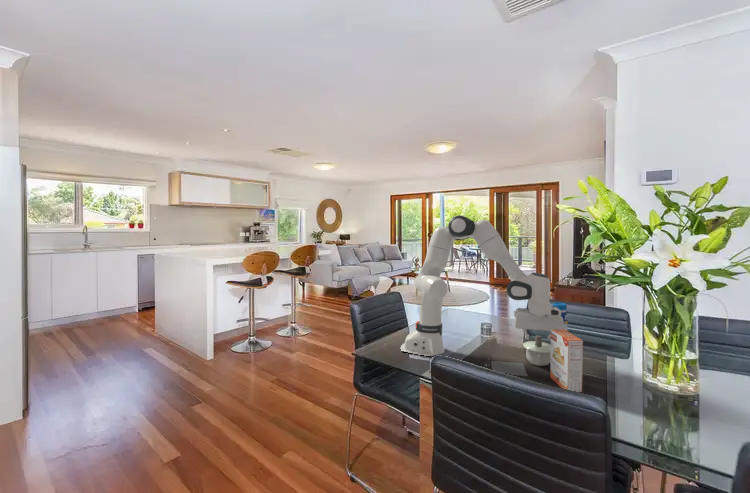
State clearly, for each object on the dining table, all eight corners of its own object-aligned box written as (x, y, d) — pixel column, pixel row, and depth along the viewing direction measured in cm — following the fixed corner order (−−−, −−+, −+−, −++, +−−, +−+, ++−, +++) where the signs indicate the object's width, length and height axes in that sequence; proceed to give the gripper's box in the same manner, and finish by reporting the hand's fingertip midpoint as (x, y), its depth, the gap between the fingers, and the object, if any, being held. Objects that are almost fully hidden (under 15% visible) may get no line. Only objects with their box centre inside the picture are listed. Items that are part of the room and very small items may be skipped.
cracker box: (549, 378, 146) (550, 328, 145) (563, 378, 146) (564, 328, 145) (566, 394, 132) (567, 339, 131) (582, 394, 132) (584, 339, 131)
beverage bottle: (547, 337, 198) (547, 302, 197) (561, 336, 199) (562, 301, 198) (556, 342, 190) (557, 305, 189) (571, 341, 191) (572, 305, 190)
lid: (525, 351, 155) (525, 340, 155) (521, 342, 168) (521, 331, 167) (557, 354, 152) (558, 342, 151) (550, 344, 164) (551, 333, 164)
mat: (492, 373, 151) (492, 372, 151) (490, 361, 164) (490, 360, 164) (527, 377, 147) (527, 376, 147) (523, 364, 161) (523, 363, 161)
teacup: (528, 357, 169) (529, 341, 168) (553, 362, 162) (554, 345, 162) (521, 367, 157) (522, 349, 157) (548, 373, 151) (548, 354, 151)
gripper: (515, 309, 158) (514, 339, 159) (565, 312, 153) (564, 343, 153) (513, 306, 164) (512, 335, 165) (561, 308, 159) (561, 338, 160)
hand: (538, 339), depth 159 cm, fingers open, 8 cm apart
